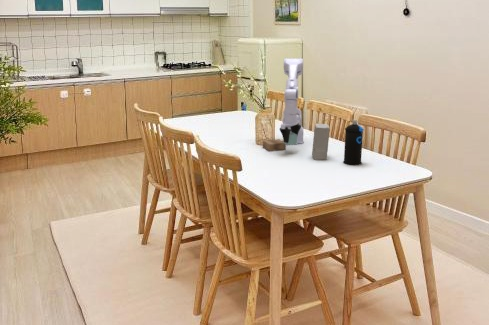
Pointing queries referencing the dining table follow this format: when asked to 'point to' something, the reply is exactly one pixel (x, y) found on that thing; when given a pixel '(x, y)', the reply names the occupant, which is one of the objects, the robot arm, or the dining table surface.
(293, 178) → the dining table surface
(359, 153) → the aerosol can
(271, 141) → the walnut block
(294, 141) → the teal block
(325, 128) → the skincare box
